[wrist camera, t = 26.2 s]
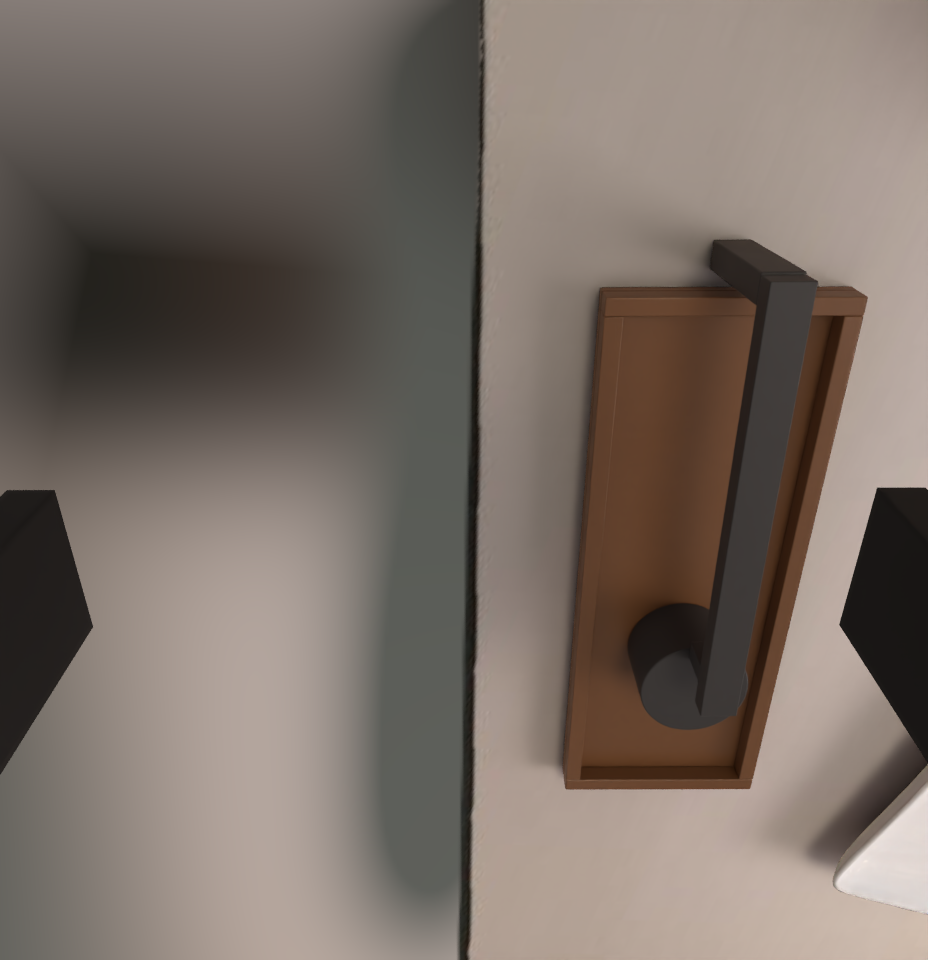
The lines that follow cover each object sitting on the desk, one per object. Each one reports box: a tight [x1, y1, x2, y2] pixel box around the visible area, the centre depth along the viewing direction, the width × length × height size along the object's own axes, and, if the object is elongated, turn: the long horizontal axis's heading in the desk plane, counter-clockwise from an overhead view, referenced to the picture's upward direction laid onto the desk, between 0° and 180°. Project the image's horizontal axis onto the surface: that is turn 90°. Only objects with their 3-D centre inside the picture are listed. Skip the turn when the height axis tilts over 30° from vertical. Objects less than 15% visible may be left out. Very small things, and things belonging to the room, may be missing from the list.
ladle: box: [628, 240, 818, 730], centre depth 35 cm, size 23×5×7 cm, turn 0°
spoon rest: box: [563, 287, 868, 789], centre depth 40 cm, size 29×11×2 cm, turn 0°
